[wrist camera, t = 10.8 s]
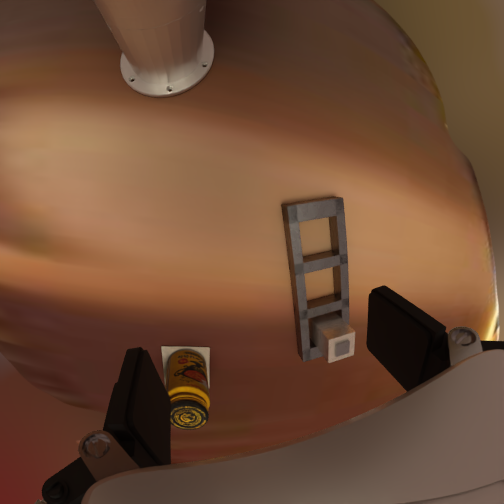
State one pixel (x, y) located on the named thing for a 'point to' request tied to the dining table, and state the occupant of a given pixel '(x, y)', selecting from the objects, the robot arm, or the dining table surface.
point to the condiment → (187, 385)
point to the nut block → (332, 336)
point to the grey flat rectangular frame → (316, 266)
